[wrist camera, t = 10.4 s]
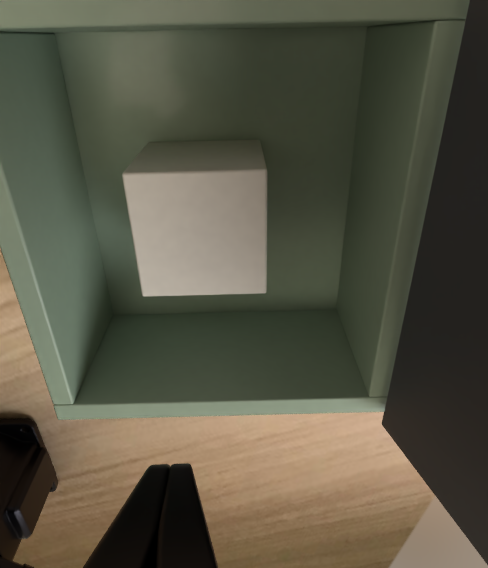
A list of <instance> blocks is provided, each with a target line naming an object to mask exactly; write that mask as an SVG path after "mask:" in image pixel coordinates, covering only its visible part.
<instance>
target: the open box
mask: <svg viewBox="0 0 488 568" xmlns="http://www.w3.org/2000/svg"><path fill="white" fill-rule="evenodd" d="M469 1H470V0H0V248H1V251H2V254H3V257H4V260H5V263H6V266H7V269H8V272H9V275H10V278H11V281H12V284H13V287H14V290H15V293H16V296H17V299H18V301H19V304H20V307H21V310H22V313H23V316H24V319H25V322H26V325H27V328H28V331H29V334H30V337H31V340H32V343H33V346H34V349H35V352H36V355H37V358H38V361H39V364H40V367H41V369H42V372H43V375H44V378H45V381H46V384H47V387H48V390H49V393H50V396H51V399H52V402H53V404H54V409H55V412H56V415H57V418H58V420H75V419H115V418H154V417H194V416H234V415H273V414H313V413H352V412H384V411H385V406H386V401H387V396H388V391H389V387H390V382H391V377H392V372H393V367H394V362H395V358H396V353H397V348H398V343H399V338H400V334H401V329H402V324H403V319H404V314H405V309H406V305H407V300H408V295H409V290H410V285H411V281H412V276H413V271H414V266H415V261H416V257H417V252H418V247H419V242H420V237H421V232H422V228H423V223H424V218H425V213H426V208H427V204H428V199H429V194H430V189H431V184H432V180H433V175H434V170H435V165H436V160H437V155H438V151H439V146H440V141H441V136H442V131H443V127H444V122H445V117H446V112H447V107H448V103H449V98H450V93H451V88H452V83H453V78H454V74H455V69H456V64H457V59H458V54H459V50H460V45H461V40H462V35H463V30H464V25H465V21H466V16H467V11H468V6H469ZM224 140H260V142H261V146H262V151H263V155H264V159H265V164H266V168H267V291H266V293H258V294H220V295H182V296H143V295H142V292H141V286H140V280H139V274H138V268H137V262H136V256H135V250H134V244H133V238H132V232H131V226H130V220H129V214H128V208H127V202H126V196H125V190H124V184H123V178H122V174H123V172H124V171H125V170H126V169H127V167H128V166H129V165H130V164H131V163H132V161H133V160H134V159H135V158H136V157H137V155H138V154H139V153H140V152H141V151H142V149H143V148H144V147H145V146H146V145H147V144H148V143H149V142H184V141H224Z"/></svg>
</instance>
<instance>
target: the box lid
mask: <svg viewBox="0 0 488 568" xmlns="http://www.w3.org/2000/svg"><path fill="white" fill-rule="evenodd" d="M382 425H383V427H384V428H385V429H386V431H387V432H388V433H389V435H390V436H391V437H392V438H393V440H394V441H395V442H396V444H397V445H398V446H399V448H400V449H401V450H402V452H403V453H404V454H405V456H406V457H407V458H408V460H409V461H410V462H411V464H412V465H413V466H414V468H415V469H416V470H417V472H418V473H419V474H420V476H421V477H422V478H423V480H424V481H425V482H426V484H427V485H428V486H429V488H430V489H431V490H432V492H433V493H434V494H435V496H436V497H437V498H438V499H439V501H440V502H441V503H442V505H443V506H444V508H445V509H446V510H447V512H448V513H449V514H450V515H451V517H452V518H453V519H454V521H455V522H456V523H457V525H458V526H459V527H460V529H461V530H462V531H463V533H464V534H465V535H466V537H467V538H468V539H469V541H470V542H471V543H472V545H473V546H474V547H475V549H476V550H477V551H478V553H479V554H480V555H481V557H482V558H483V559H484V561H485V562H486V563H487V565H488V0H470V1H469V6H468V11H467V16H466V21H465V25H464V30H463V35H462V40H461V45H460V50H459V54H458V59H457V64H456V69H455V74H454V78H453V83H452V88H451V93H450V98H449V103H448V107H447V112H446V117H445V122H444V127H443V131H442V136H441V141H440V146H439V151H438V155H437V160H436V165H435V170H434V175H433V180H432V184H431V189H430V194H429V199H428V204H427V208H426V213H425V218H424V223H423V228H422V232H421V237H420V242H419V247H418V252H417V257H416V261H415V266H414V271H413V276H412V281H411V285H410V290H409V295H408V300H407V305H406V309H405V314H404V319H403V324H402V329H401V334H400V338H399V343H398V348H397V353H396V358H395V362H394V367H393V372H392V377H391V382H390V387H389V391H388V396H387V401H386V406H385V411H384V415H383V420H382Z"/></svg>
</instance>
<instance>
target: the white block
mask: <svg viewBox="0 0 488 568" xmlns="http://www.w3.org/2000/svg"><path fill="white" fill-rule="evenodd" d="M122 178H123V184H124V190H125V196H126V202H127V208H128V214H129V220H130V226H131V232H132V238H133V244H134V250H135V256H136V262H137V268H138V274H139V280H140V286H141V292H142V295H143V296H182V295H220V294H258V293H266V291H267V168H266V164H265V159H264V155H263V151H262V146H261V142H260V140H224V141H184V142H149V143H148V144H147V145H146V146H145V147H144V148H143V149H142V151H141V152H140V153H139V154H138V155H137V157H136V158H135V159H134V160H133V161H132V163H131V164H130V165H129V166H128V167H127V169H126V170H125V171H124V172H123V174H122Z"/></svg>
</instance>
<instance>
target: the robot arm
mask: <svg viewBox="0 0 488 568" xmlns="http://www.w3.org/2000/svg"><path fill="white" fill-rule="evenodd" d="M57 485H58V480H57V477H56V472H55V470H54V467H53V464H52V462H51V459H50V456H49V454H48V451H47V450H46V448H45V445H44V443H43V440H42V437H41V435H40V432H39V430H38V427H37V424H36V423H35V422H34V421H33V420H31V419H0V568H34V567H32V566H30V565H27V564H24V565H21V564H19V563H16V562H13V558H14V556H15V554H16V551H17V549H18V547H19V544H20V542H21V540H22V539H27V538H29V537H30V535H31V534H32V533H33V530H34V528H35V525H36V523H37V521H38V518H39V516H40V513H41V511H42V508H43V506H44V504H45V501H46V499H47V496H48V494H49V492H53V491H55V490H56V488H57ZM83 568H218V565H217V561H216V557H215V553H214V550H213V546H212V542H211V538H210V534H209V531H208V527H207V523H206V519H205V515H204V512H203V508H202V504H201V500H200V496H199V493H198V489H197V485H196V481H195V477H194V474H193V470H192V467H191V465H190V464H188V463H187V464H173V465H172V466H171V467H170V465H168V464H161V465H151V466H150V467H148V469H147V470H146V471H145V473H144V475H143V476H142V478H141V479H140V481H139V482H138V484H137V485H136V487H135V488H134V490H133V491H132V493H131V495H130V496H129V498H128V499H127V501H126V502H125V504H124V505H123V507H122V508H121V510H120V511H119V513H118V514H117V516H116V518H115V519H114V521H113V522H112V524H111V525H110V527H109V528H108V530H107V531H106V533H105V534H104V536H103V537H102V539H101V541H100V542H99V544H98V545H97V547H96V548H95V550H94V551H93V553H92V554H91V556H90V557H89V559H88V561H87V562H86V564H85V565H84V567H83Z"/></svg>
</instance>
